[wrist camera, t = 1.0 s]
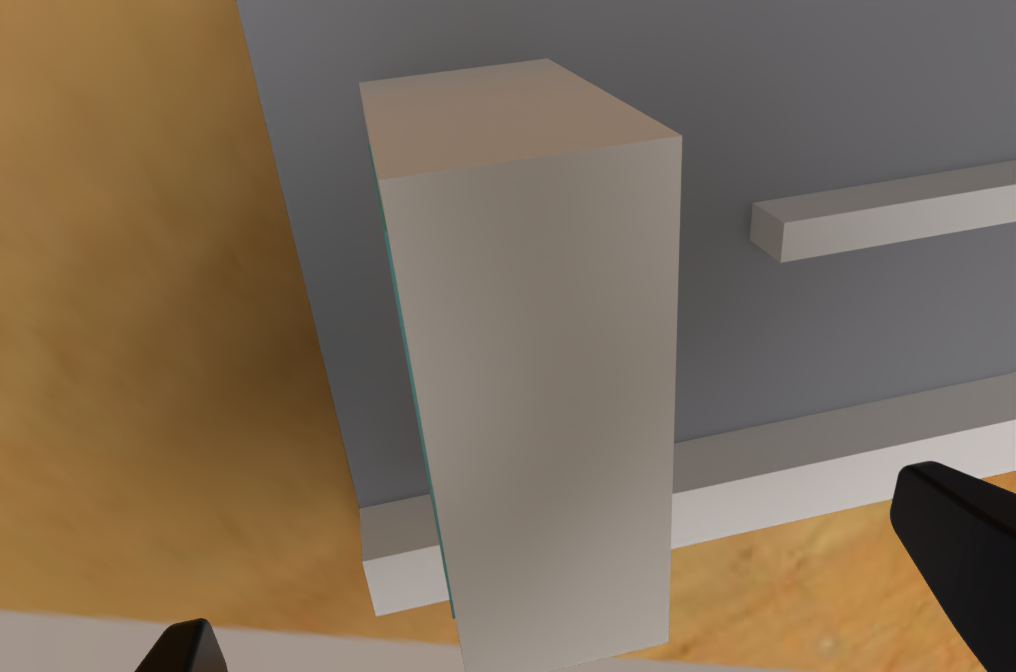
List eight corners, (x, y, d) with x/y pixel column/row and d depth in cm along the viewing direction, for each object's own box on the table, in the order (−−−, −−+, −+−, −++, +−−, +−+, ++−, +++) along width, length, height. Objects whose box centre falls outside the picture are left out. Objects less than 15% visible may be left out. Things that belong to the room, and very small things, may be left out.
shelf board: (1239, -172, 18) (1420, -192, 15) (1059, 380, 26) (1154, 438, 23) (226, -74, 15) (201, -75, 12) (369, 525, 23) (375, 616, 20)
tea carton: (547, 58, 16) (682, 135, 10) (569, 436, 21) (668, 642, 15) (355, 82, 15) (374, 180, 9) (424, 465, 20) (466, 692, 14)
